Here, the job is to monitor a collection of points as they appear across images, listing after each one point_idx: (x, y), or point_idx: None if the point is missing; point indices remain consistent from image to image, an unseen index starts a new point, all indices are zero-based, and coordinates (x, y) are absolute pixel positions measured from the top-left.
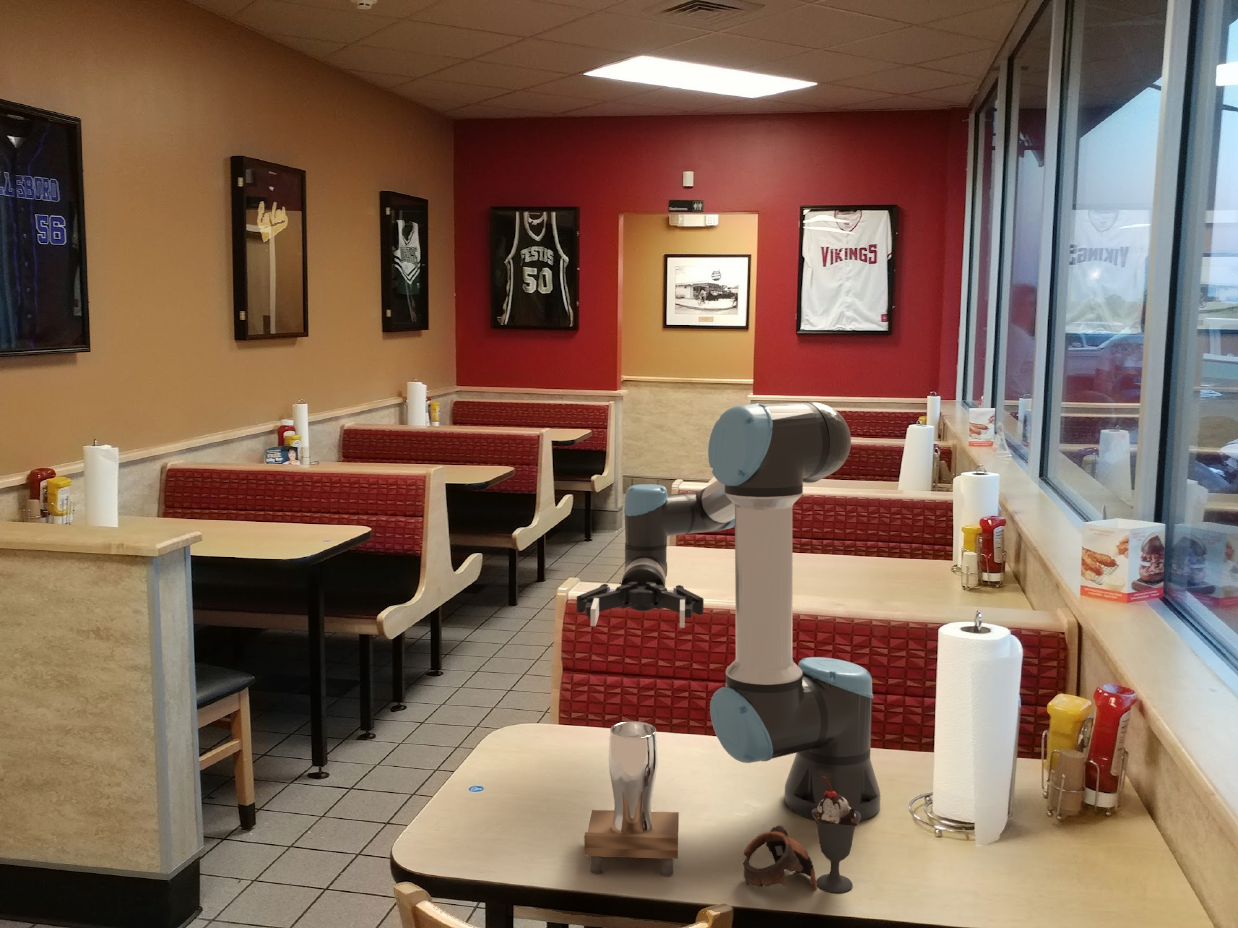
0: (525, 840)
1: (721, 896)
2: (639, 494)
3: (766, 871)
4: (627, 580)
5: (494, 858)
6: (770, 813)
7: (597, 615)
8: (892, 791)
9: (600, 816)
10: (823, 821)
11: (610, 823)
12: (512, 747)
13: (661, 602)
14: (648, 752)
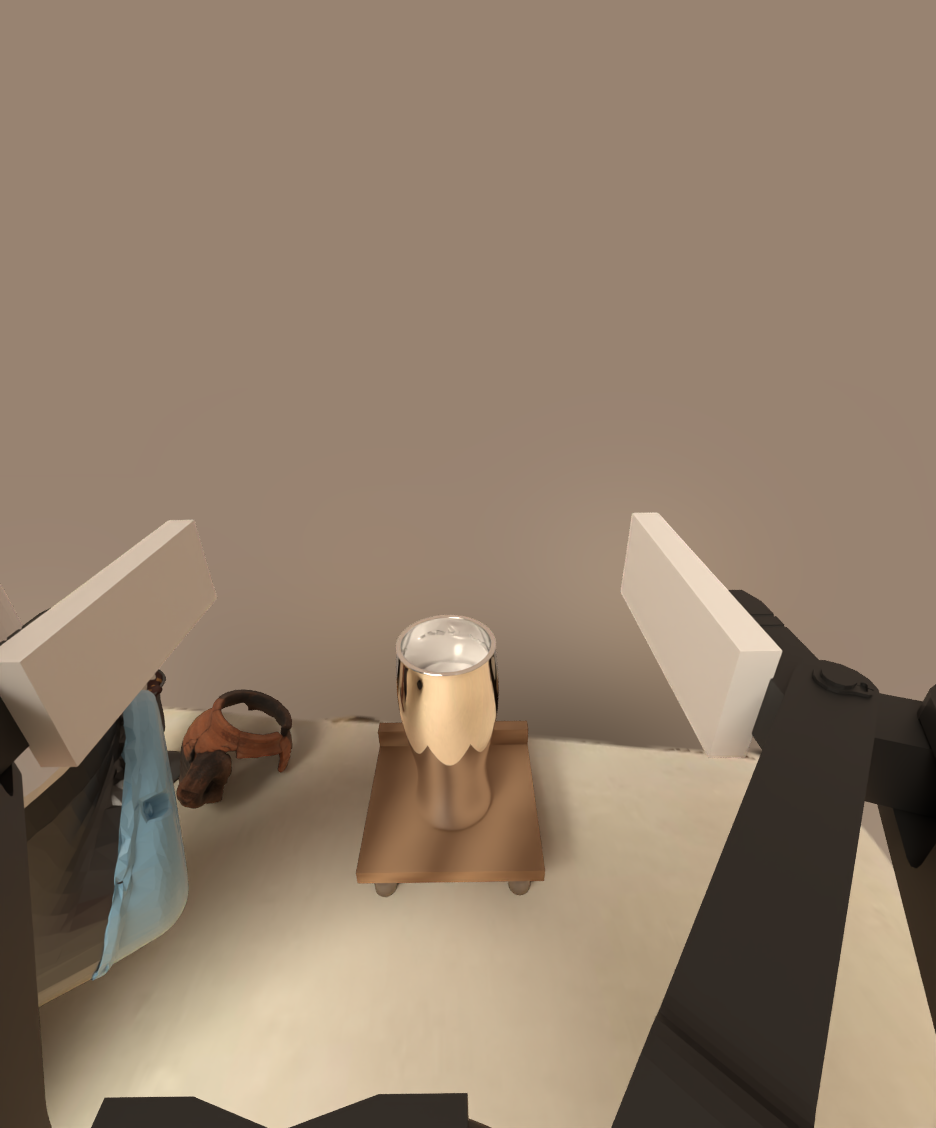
0: (667, 877)
1: (333, 735)
2: None
3: (270, 696)
4: None
5: (685, 807)
6: (75, 1094)
7: (663, 644)
8: None
9: (520, 841)
10: (158, 673)
11: (496, 813)
12: None
13: (16, 1084)
14: (416, 648)
